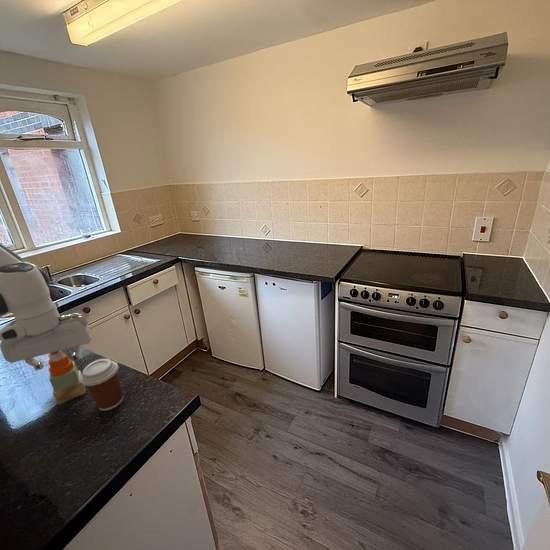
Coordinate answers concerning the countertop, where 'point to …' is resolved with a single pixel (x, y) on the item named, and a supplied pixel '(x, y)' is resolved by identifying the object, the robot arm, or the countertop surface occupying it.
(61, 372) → the cone
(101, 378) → the coffee cup
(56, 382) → the top block
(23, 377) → the countertop surface
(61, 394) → the base block
